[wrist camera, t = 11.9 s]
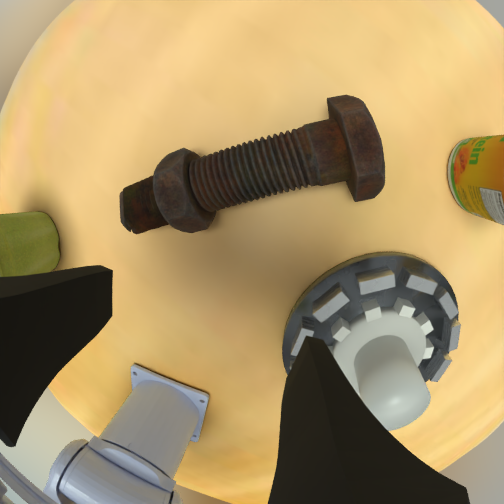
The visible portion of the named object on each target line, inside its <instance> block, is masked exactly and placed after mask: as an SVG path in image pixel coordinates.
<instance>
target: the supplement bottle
mask: <svg viewBox="0 0 504 504" xmlns="http://www.w3.org/2000/svg"><path fill="white" fill-rule="evenodd" d="M448 181H449V185H450V189H451V192H452V194H453V196H454V198H455V200H456V201H457V203H458V204H459V205H460V206H461V207H462V208H463V209H464V210H466V211H467V212H469V213H471V214H474V215H476V216H479V217H482V218H485V219H488V220H491V221H494V222H496V223H499V224H502V225H504V135H496V136H486V137H476V138H469V139H465V140H463V141H461V142H459V143H458V144H457V145H456V146H455V148H454V149H453V151H452V153H451V155H450V159H449V163H448Z"/></svg>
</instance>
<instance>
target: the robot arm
mask: <svg viewBox="0 0 504 504" xmlns="http://www.w3.org/2000/svg"><path fill="white" fill-rule="evenodd" d="M112 277H113V270H111V269H108V268H106V267H104V266H101V265H95V266H85V267H78V268H72V269H65V270H59V271H53V272H47V273H39V274H32V275H23V276H8V277H0V439H1V440H2V441H3V442H4V443H5V445H6V446H9V447H14V446H16V443H17V440H18V438H19V435H20V433H21V431H22V428H23V426H24V424H25V422H26V420H27V418H28V416H29V415H30V413H31V411H32V409H33V408H34V406H35V404H36V402H37V401H38V400H39V398H40V397H41V395H42V394H43V392H44V390H45V389H46V388H47V386H48V385H49V384H50V382H51V381H52V380H53V379H54V377H55V376H56V375H57V373H58V372H59V371H60V370H61V369H62V368H63V367H64V366H65V365H66V364H67V363H68V362H69V361H70V360H71V359H72V358H73V357H74V356H75V355H76V354H77V353H79V352H80V351H81V350H82V349H83V348H84V347H85V346H86V345H87V344H88V343H89V342H90V341H91V340H92V339H93V338H94V337H95V336H96V335H97V334H98V333H99V332H100V331H101V330H102V328H103V327H104V326H105V325H106V323H107V322H108V321H109V319H110V318H111V317H112ZM131 381H132V392H131V394H130V395H129V396H128V398H127V399H126V400H125V402H124V403H123V405H122V406H121V407H120V409H119V410H118V411H117V413H116V414H115V416H114V417H113V418H112V420H111V421H110V422H109V424H108V425H107V427H106V428H105V429H104V431H103V432H102V434H101V435H100V436H99V438H98V437H96V436H94V437H93V438H92V439H91V441H90V442H88V441H87V440H85V439H80V440H74V441H72V442H70V443H69V444H68V445H67V446H66V447H65V448H64V449H63V450H62V451H61V453H60V454H59V455H58V457H57V458H56V460H55V462H54V463H53V465H52V467H51V470H50V473H49V479H48V482H47V484H46V486H45V488H44V490H43V492H42V491H41V490H40V489H38V488H37V487H36V486H35V485H34V484H32V483H31V482H30V481H29V480H28V479H27V478H25V477H24V476H23V475H22V474H21V473H20V472H19V471H18V470H17V469H16V468H15V467H14V466H13V465H12V464H10V462H9V461H8V460H7V459H6V458H5V457H4V456H3V455H2V454H1V453H0V477H1V478H2V479H3V480H4V481H5V482H6V483H7V484H8V485H9V486H10V487H11V488H12V489H13V490H14V491H15V492H16V493H17V494H18V495H19V496H20V497H21V498H22V499H24V500H25V501H26V502H27V503H28V504H183V500H182V498H181V496H180V493H179V492H177V491H175V490H173V488H174V486H175V484H176V481H175V480H173V478H174V476H175V474H176V471H177V469H178V467H179V465H180V462H181V460H182V458H183V455H184V453H185V451H186V448H187V446H188V444H189V442H190V441H193V442H198V440H199V436H200V432H201V428H202V424H203V420H204V416H205V412H206V408H207V404H208V400H209V395H208V394H207V393H205V392H202V391H199V390H196V389H193V388H191V387H188V386H185V385H183V384H180V383H178V382H175V381H173V380H170V379H168V378H165V377H163V376H161V375H158V374H156V373H154V372H151V371H149V370H147V369H145V368H142V367H140V366H138V365H136V364H133V365H132V366H131ZM6 492H7V488H6V486H5V485H4V484H3V483H2V482H1V480H0V504H14V503H13V502H12V501H11V500H10V499H9V498H7V497H6V496H5V495H4V494H5V493H6ZM268 504H470V502H469V497H468V493H467V489H466V487H464V486H462V485H460V484H458V483H456V482H455V481H453V480H451V479H449V478H447V477H445V476H443V475H442V474H440V473H438V472H437V471H435V470H434V469H432V468H431V467H430V466H428V465H427V464H425V463H424V462H423V461H421V460H420V459H419V458H417V457H416V456H415V455H414V454H412V453H411V452H410V451H409V450H408V449H406V448H405V447H404V446H403V445H402V444H401V443H400V442H399V441H398V440H397V439H396V438H394V437H393V436H392V435H391V434H390V433H389V431H388V430H387V429H386V428H385V427H384V426H383V425H382V424H381V423H380V422H379V420H378V419H377V418H376V417H375V416H374V415H373V414H372V412H371V411H370V410H369V409H368V407H367V406H366V405H365V403H364V402H363V401H362V399H361V398H360V397H359V395H358V394H357V393H356V391H355V390H354V388H353V387H352V385H351V384H350V382H349V381H348V379H347V378H346V376H345V374H344V373H343V371H342V370H341V368H340V366H339V365H338V363H337V361H336V360H335V358H334V356H333V355H332V353H331V351H330V350H329V348H328V346H327V345H326V343H325V342H324V340H323V339H319V338H315V337H311V336H307V335H306V336H305V339H304V341H303V343H302V346H301V348H300V350H299V352H298V354H297V357H296V359H295V361H294V363H293V365H292V367H291V370H290V372H289V374H288V376H287V378H286V383H285V388H284V393H283V399H282V406H281V421H280V436H279V449H278V459H277V466H276V471H275V476H274V480H273V485H272V489H271V493H270V497H269V501H268Z"/></svg>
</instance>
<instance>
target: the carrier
mask: <svg viewBox="0 0 504 504" xmlns="http://www.w3.org/2000/svg"><path fill="white" fill-rule="evenodd" d="M398 297H399V298H402V299H406V300H409V301H410V302H411V303H412V305H413V306H414V307H415V311H414V313H413V316H414V317H417V316H418V315H419V314H421V313H422V312H424V314H425V315H426V316H427V318H428V319H429V320H430V322H431V325H432V327H433V329H434V330H432V331H431V332H430V333H428V334H427V335H425V336H426V338H429V340H430V341H431V343H432V344H433V346H434V349H433V352H432V355H431V358H427V359H422V361H421V363H420V364H419V366H418V369H419V371H420V373H421V375H422V377H423V379H424V381H425V382H427V381H428V380H429V379H430V381H434V382H438V380H439V379H440V378H441V376H442V375H443V373H444V372H445V371H446V369H447V368H448V366H449V365H450V363H451V362H452V359H451V358H450V356H449V355H448V354H449V352H450V351H452V350H454V349H457V347H458V340H459V334H460V326H461V324H460V323H459V322H458V313H459V312H458V305H457V301H456V297H455V294H454V292H453V290H452V287H451V286H450V284H449V283H448V281H447V280H446V278H445V277H444V276H443V275H442V274H441V273H440V272H439V271H438V270H436V269H435V268H434V267H433V266H431V265H430V264H428V263H427V262H425V261H424V260H422V259H420V258H417V257H415V256H412V255H409V254H405V253H399V252H377V253H371V254H365V255H362V256H359V257H355V258H352V259H350V260H348V261H345V262H343V263H341V264H339V265H337V266H335V267H334V268H332V269H330V270H329V271H327V272H326V273H325V274H323V275H322V276H321V277H319V278H318V279H317V280H316V281H315V282H314V283H312V284H311V285H310V286H309V287H308V288H307V289H306V291H305V292H304V293H303V294H302V295H301V297H300V298H299V299H298V301H297V303H296V304H295V306H294V307H293V309H292V311H291V313H290V315H289V318H288V320H287V324H286V327H285V331H284V338H283V346H282V355H283V362H284V367H285V370H286V373H287V375H288V374H289V372H290V370H291V367H292V365H293V363H294V361H295V359H296V357H297V354H298V352H299V350H300V348H301V346H302V343H303V341H304V339H305V336H306V335H307V336H311V337H315V338H319V339H323V340H324V342H325V343H326V345H327V346H333V343H334V341H335V338H333V337H332V330H331V327H332V326H333V325H334V324H335V322H336V321H337V320H338V319H339V318H340V317H342V318H343V319H345V320H346V321H348V322H349V321H351V320H352V319H353V318H355V317H356V316H358V315H360V314H361V313H363V309H362V304H361V303H363V302H366V301H369V300H372V299H376V301H377V302H378V304H379V306H380V307H393V306H394V304H395V302H396V300H397V298H398Z"/></svg>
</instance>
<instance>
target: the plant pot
mask: <svg viewBox="0 0 504 504" xmlns="http://www.w3.org/2000/svg"><path fill="white" fill-rule="evenodd" d="M58 242H59V236H58V233H57V230H56V227H55V225H54V223H53V221H52V220H51V218H50V217H49V216H48V215H47V214H45V213H43V212H39V211H35V212H23V213H11V214H0V277H8V276H23V275H32V274H39V273H47V272H50V271H52V270H53V269H55V267H56V266H57V264H58V262H59V258H60V252H59V249H58Z"/></svg>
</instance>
